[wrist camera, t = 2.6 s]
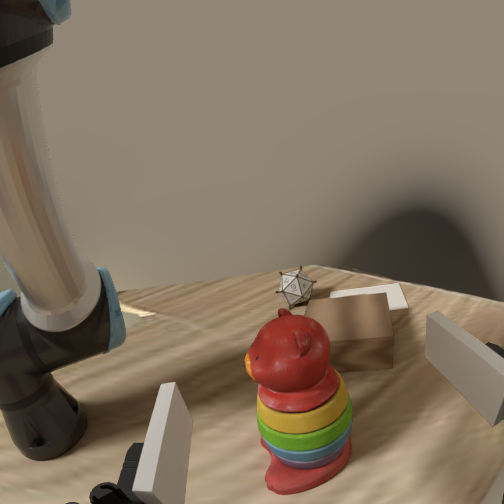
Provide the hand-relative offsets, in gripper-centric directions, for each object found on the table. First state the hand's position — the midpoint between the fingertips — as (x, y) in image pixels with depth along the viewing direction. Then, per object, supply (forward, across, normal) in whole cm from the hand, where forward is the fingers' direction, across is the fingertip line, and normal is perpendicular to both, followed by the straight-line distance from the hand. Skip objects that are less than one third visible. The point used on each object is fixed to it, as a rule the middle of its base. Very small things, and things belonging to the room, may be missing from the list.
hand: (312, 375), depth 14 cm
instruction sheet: (+43, +20, -19) cm, 52 cm away
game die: (+50, +7, -19) cm, 54 cm away
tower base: (+30, +11, -20) cm, 37 cm away
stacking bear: (+10, 0, -20) cm, 22 cm away
